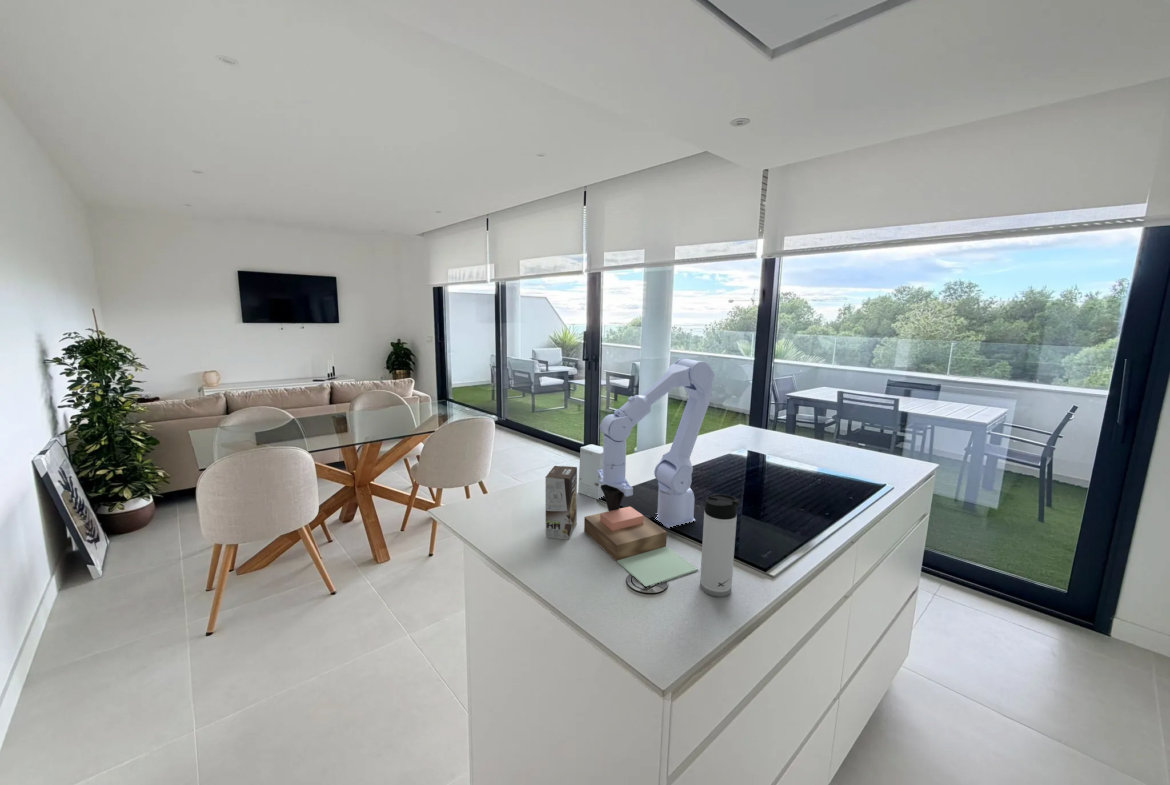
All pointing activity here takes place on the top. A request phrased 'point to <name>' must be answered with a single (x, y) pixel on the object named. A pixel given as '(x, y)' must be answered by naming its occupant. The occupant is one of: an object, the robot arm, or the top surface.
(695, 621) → the top surface
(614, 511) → the coral block
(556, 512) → the coffee box
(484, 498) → the top surface
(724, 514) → the travel mug
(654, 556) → the sage mat
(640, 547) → the block
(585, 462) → the skincare box
